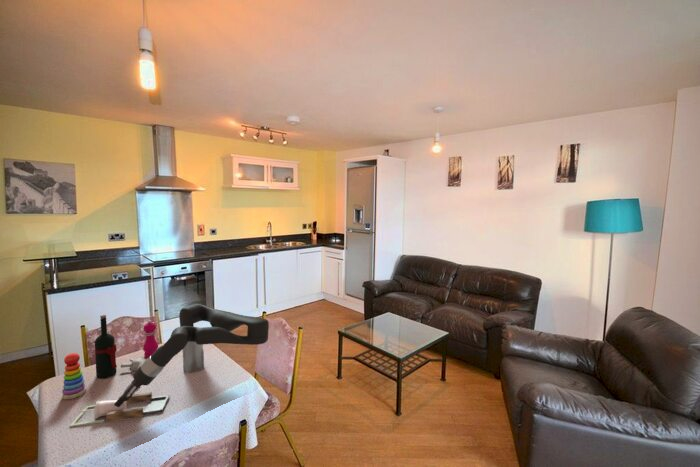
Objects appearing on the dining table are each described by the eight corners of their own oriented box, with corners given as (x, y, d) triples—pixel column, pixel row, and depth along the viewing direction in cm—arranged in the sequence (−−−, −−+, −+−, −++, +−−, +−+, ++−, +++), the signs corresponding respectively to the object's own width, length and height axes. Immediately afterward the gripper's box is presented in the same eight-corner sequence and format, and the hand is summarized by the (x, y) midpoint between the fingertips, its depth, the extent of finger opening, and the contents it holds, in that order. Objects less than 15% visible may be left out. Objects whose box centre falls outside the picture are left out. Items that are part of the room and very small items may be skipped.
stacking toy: (90, 391, 140) (87, 351, 139) (69, 402, 133) (66, 359, 131) (78, 387, 143) (76, 348, 141) (57, 398, 135) (54, 356, 134)
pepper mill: (142, 359, 170) (140, 323, 168) (144, 353, 176) (142, 319, 174) (158, 356, 173) (156, 321, 171) (159, 350, 179) (157, 317, 178)
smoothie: (123, 410, 124) (78, 418, 118) (125, 415, 128) (82, 423, 122) (126, 393, 128) (82, 400, 122) (127, 398, 132) (85, 405, 126)
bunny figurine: (146, 367, 154) (118, 362, 155) (146, 377, 154) (118, 371, 156) (160, 358, 163) (133, 353, 165) (159, 367, 164) (133, 362, 165)
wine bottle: (107, 381, 149) (104, 320, 146) (92, 377, 152) (88, 317, 149) (123, 372, 156) (120, 314, 153) (108, 369, 159) (105, 312, 156)
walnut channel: (152, 398, 136) (151, 392, 136) (141, 416, 125) (141, 409, 124) (120, 402, 133) (119, 396, 133) (106, 421, 121) (106, 414, 121)
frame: (117, 403, 133) (117, 401, 133) (103, 422, 121) (103, 420, 121) (86, 407, 130) (86, 405, 130) (69, 427, 118) (69, 425, 118)
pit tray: (169, 397, 137) (169, 395, 137) (162, 412, 127) (162, 409, 127) (151, 400, 135) (151, 397, 135) (142, 415, 125) (142, 412, 125)
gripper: (153, 383, 122) (118, 420, 119) (162, 367, 134) (131, 400, 131) (136, 372, 120) (100, 410, 117) (146, 357, 132) (115, 391, 129)
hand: (116, 405), depth 124 cm, fingers closed
